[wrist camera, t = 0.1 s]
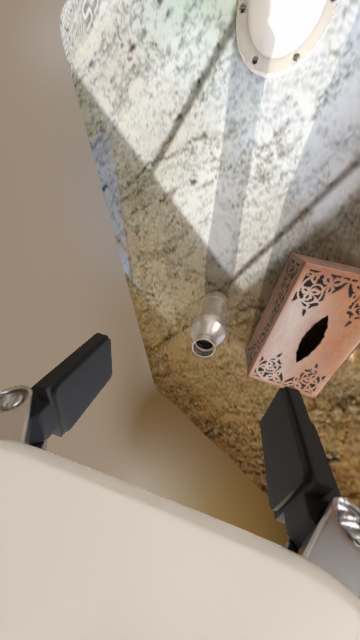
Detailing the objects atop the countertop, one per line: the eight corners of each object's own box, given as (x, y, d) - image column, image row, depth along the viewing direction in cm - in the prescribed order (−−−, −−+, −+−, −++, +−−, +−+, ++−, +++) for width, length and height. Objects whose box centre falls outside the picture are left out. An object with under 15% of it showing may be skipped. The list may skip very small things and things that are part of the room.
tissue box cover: (291, 252, 39) (306, 262, 30) (368, 269, 37) (408, 285, 28) (245, 350, 52) (247, 376, 43) (301, 367, 50) (314, 398, 41)
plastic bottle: (196, 295, 48) (175, 338, 31) (222, 283, 45) (213, 324, 28) (208, 316, 50) (194, 368, 33) (233, 306, 47) (232, 358, 30)
